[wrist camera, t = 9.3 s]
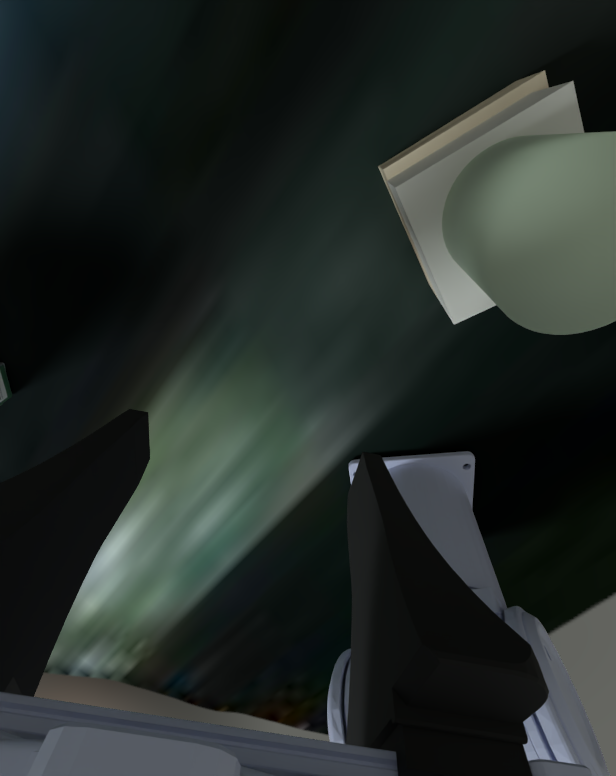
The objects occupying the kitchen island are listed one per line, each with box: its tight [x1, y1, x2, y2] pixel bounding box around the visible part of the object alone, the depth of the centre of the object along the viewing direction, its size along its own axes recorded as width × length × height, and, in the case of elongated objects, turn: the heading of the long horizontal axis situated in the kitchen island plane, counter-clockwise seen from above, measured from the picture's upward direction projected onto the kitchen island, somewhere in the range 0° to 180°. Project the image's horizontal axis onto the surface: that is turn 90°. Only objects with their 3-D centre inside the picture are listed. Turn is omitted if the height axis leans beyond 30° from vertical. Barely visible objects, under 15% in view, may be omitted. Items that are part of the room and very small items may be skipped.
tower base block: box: [378, 70, 549, 300], centre depth 17 cm, size 6×6×3 cm
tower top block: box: [387, 81, 584, 324], centre depth 15 cm, size 6×6×3 cm
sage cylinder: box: [442, 131, 616, 335], centre depth 11 cm, size 4×4×5 cm
